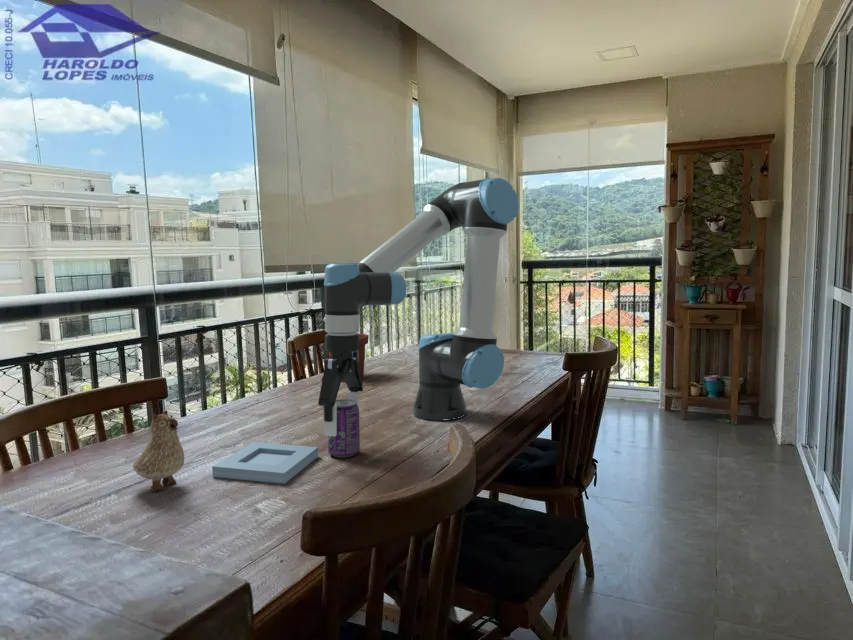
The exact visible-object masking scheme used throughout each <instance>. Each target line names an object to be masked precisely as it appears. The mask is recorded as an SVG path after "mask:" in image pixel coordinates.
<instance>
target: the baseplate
mask: <svg viewBox="0 0 853 640" xmlns="http://www.w3.org/2000/svg"><path fill="white" fill-rule="evenodd" d="M317 458H319V447H318V446H307V445H295V444H294V445H293V444H284V443H283V444H282V443H271V442H257V441H253V442H251V443H250V444H247V445H246V446H244V447H242V448H241V449H239V450H237V451H236V452H234V453H232V454H231V455H229V456H228V457H226V458H224V459H222V460H221V461H219V462H216V463H215V464H214V465H212V467H211V468H212V469H211V470H212V477H213V478H221V479H232V480H240V481H241V480H242V481H250V482H262V483H270V484H271V483H272V484H283V485H285V484H286V483H288V482H289V481H290V480H291V479H292V478H294V477H295V476H296V475H297V474H299V473H300V472H301V471H303V469H305V468H306V467H308V466H309V465H310V464H311V463H312V462H313V461H315V460H316V459H317Z"/></svg>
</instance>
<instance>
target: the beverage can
mask: <svg viewBox="0 0 853 640" xmlns="http://www.w3.org/2000/svg"><path fill="white" fill-rule="evenodd" d="M334 406H337V436H327V443H328V444H327V450H328V451H327V452H328V454H329V455H331V456H333V457H335V458H339V459H340V458H341V459H343V458H344V459H345V458H350V457H351V458H352V457H353V456H355V455H356V454H358V453H360V450H361V445H360V443H361V441H360V439H361V437H360V434H361V433H360V409H359V408H360V407H359V408H358V406H357V401H355V400H351V399H347V398H346V399H344V398H343V399H342V398H341V399H336V401H335V405H334Z"/></svg>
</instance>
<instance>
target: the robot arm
mask: <svg viewBox="0 0 853 640" xmlns="http://www.w3.org/2000/svg"><path fill="white" fill-rule="evenodd" d="M519 204H520V203H519V199H518V195H517V192H516V190H515V189H514V188H513V185H512V184H511V183H510V182H509V181H508V180H506V179H504V178H502V177H501V178H500V177H485V178H483V179H477V180H472V181H464V182H459V183H456V184H454V185H452V186H451V187H448V188H447V189H446V190H444V191H443V192H441V193H440V194H439V195H438V196H436V197H435V198H433V199H432V200H430V202H428V203H427V204H426V205H424V207H422V208H423V209H422V213H420V214H419V215H418V216H416V218H414V219H413V220H412V221H410V222H409V223H408V224H406V226H404V227H403V228H402V229H400V230H399V231H398V232H396V233H395V234H394V235H392V236H391V237H390V238H389V239H387V240H386V241H385V242H384V243H382V244H381V245H380V246H378V247H377V248H376V249H375V250H373V251H372V252H371V253H369V255H367V256H366V257H364V258H363V259H362V260H360V261H359V262H358V263H329V264H327V265H326V267H324V268H325V269H324V281H323V286H324V318H323V322H324V332H326V334H325V335H324V351H326V352H327V353H330V352H331V353H332V356H331V359H330V358H325V359H324V366H323V367H324V368H323V369H324V370H323V374H322V377H323V380H322V381H321V385H320V391H319V397H318V402H317V404H318V406H319V407H320V406H321V407H323V413H322V414H323V420H322V421H323V436H325V437H328V436H337V406H334V405H335V401H336V400H337V397H338V394H339V390H340V386H341V383H342V382H341V380H342V379H345V382H344V383H345V385H346V386H347V390H348V391H347V392H346V399H351V400H355V401H357V406H358V408H360V398H359V397H360V396H359V395H360V394H359V393H360V392H363V391H364V389H363V388H364V387H363V380H362V379H361V373H360V368H359V363H358V352H357V351H358V349H359V335H358V334H356V333H359V332H360V307H364V306H391V305H392V306H394V305H400V304H402V302H403V301H404V300H405V298H406V295H407V282H406V280H405V278H404V276H403V275H402V274H401V273H397V270H399V269H400V268H401V267H402V266H403V265H405V264H406V263H408V261H410V260H411V259H412V258H414V256H416V255H418V253H420V252H421V251H422V250H424V249H425V248H426V247H427V246H428V245H430V244H431V243H432V242H433V241H434V240H436V239H437V238H438V237H439V236H446V235H447V234H449V233H450V232H452V231H453V230H455V229H458V228H461V229H462V232H463V233H464V234H465V236H466V247H465V248H466V249H465V256H464V257H465V259H464V269H463V271H464V272H463V280H462V281H463V282H462V293H461V305H460V316H459V325H458V326H459V327H458V328H457V329H456V331H454V332H443V333H433V334H425V335H422V336H421V337H420V339H419V343H418V345H419V346H418V367H419V368H418V370H419V372H418V375H419V376H418V377H419V382H418V383H419V385H418V390H417V393H416V396H415V399H414V403H413V407H412V410H413V412H412V414H413V416H415V417H416V418H418V417H419V419H422V420H426V419H430V420H429V421H437V420H443V419H453V418H458V417H461V416H463V415H465V414H466V415H467V404H466V401H465V398H464V397H465V396H464V395H463V391H462V389H461V385H463V386H466V387H468V388H471V389H472V388H475V389H476V388H477V389H487V388H489V387H491V386H492V385H494V384H495V382H496V381H498V380H499V379H500V377H501V375H502V373H503V370H504V366H505V356H504V353H502V349H501V348H499V347H498V345H497V342H498V337H497V335H496V334H495V333H494V331H493V323H494V322H493V319H494V311H495V310H494V309H495V300H496V299H495V298H496V289H497V279H498V277H497V276H498V269H499V267H498V265H499V258H500V257H499V255H500V247H501V246H500V244H501V240H502V238H503V237H504V236H505V235H506V234H507V233H508V224H510V223H511V222H513V220H515V218H516V217H517V215H518V213H519V207H520V206H519ZM466 415H465V416H466Z"/></svg>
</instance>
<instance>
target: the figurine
mask: <svg viewBox="0 0 853 640" xmlns="http://www.w3.org/2000/svg"><path fill="white" fill-rule="evenodd" d="M151 419H152V421H151V423H150V432H151V435H152V436H151V437H150V440H149V441H148V443H147V444H146V446H145V447H144V449H143V450H142V452H141V454H140V455H139V456H138V458H136V460H135V461H134V462H133V465H132V468H133V470H134V472H135V473H136V474H137V475H139V476H140V477H142V478H143V479H149V480H151V483H152V485H151V486H150V489H151V492H152V493H154V492H157V491H163V490H165V486H168V485H171V484H176V483H177V480H176V479H175V478H174V477H173V475H175V474H176V473H178V472H179V471H180V470H181V469H182V468H183V466H184V464H185V452H184V448H183V446H182V444H181V441H180V437H179V435H178V431H177V430H178V426H179V422H178V420H177V419H176V418H173V417H171V416H169V415H168V410H164V411H163V412H162V413H160V414H158V415H157V413H153V414H152V418H151ZM162 484H163V485H162ZM163 486H164V487H163Z"/></svg>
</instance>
